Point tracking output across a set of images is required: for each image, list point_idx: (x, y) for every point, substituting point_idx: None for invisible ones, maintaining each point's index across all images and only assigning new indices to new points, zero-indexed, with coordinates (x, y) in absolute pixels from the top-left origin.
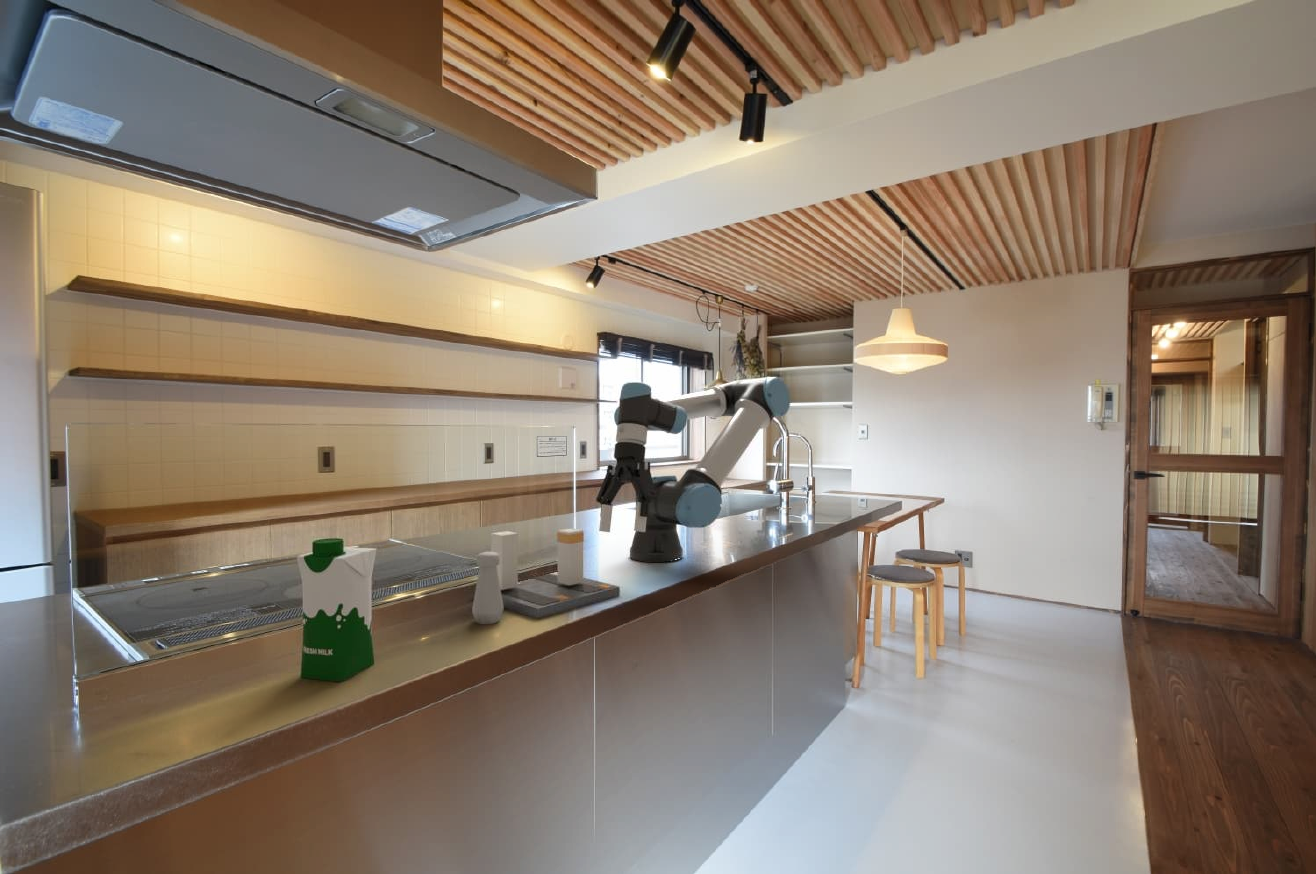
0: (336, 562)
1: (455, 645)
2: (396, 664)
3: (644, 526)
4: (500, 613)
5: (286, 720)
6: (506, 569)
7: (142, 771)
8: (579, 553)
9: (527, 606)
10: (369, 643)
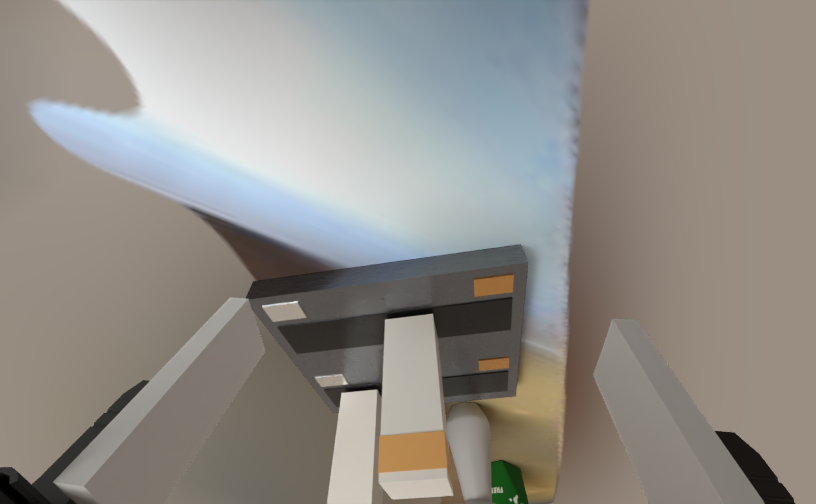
0: None
1: (515, 432)
2: (517, 454)
3: (652, 357)
4: (484, 416)
5: (551, 478)
6: None
7: (550, 495)
8: (441, 398)
9: (487, 397)
10: (515, 486)
